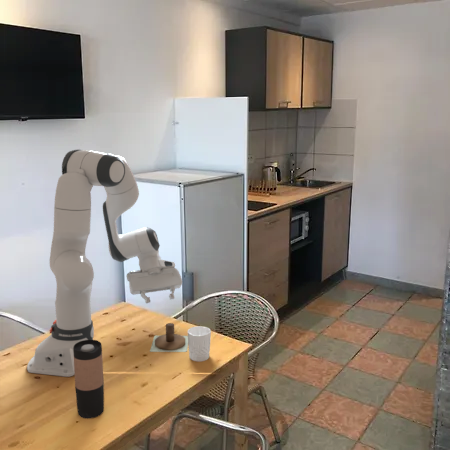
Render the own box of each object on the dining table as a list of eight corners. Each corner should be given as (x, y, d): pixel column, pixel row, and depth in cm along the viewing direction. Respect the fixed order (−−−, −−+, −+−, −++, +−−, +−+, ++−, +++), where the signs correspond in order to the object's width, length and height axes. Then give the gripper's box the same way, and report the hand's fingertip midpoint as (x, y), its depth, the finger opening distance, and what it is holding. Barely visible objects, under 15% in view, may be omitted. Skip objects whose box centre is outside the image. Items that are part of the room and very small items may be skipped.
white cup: (207, 364, 167) (207, 336, 165) (185, 362, 169) (184, 334, 167) (213, 353, 175) (213, 327, 173) (191, 351, 176) (191, 325, 174)
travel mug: (83, 402, 145) (80, 338, 140) (109, 404, 144) (106, 340, 139) (72, 418, 137) (67, 350, 133) (98, 420, 136) (95, 352, 132)
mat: (149, 352, 175) (149, 351, 175) (154, 336, 188) (154, 335, 188) (186, 353, 175) (186, 351, 175) (189, 337, 188) (189, 335, 188)
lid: (153, 350, 176) (152, 331, 174) (156, 336, 187) (156, 318, 185) (184, 350, 176) (184, 331, 175) (186, 336, 187) (186, 318, 185)
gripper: (126, 268, 188) (134, 301, 181) (178, 261, 196) (187, 293, 190) (124, 275, 193) (131, 308, 186) (174, 269, 201) (183, 300, 195)
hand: (160, 300), depth 188 cm, fingers open, 8 cm apart
